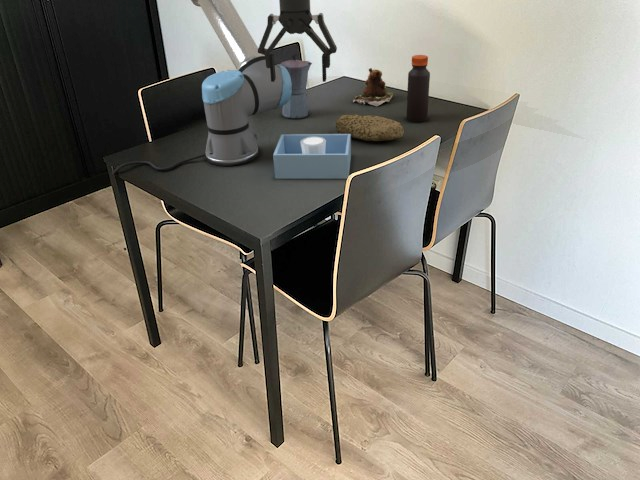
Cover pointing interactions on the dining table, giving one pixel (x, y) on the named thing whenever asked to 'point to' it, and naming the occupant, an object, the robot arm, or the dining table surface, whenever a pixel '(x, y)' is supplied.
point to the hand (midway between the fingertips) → (298, 80)
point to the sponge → (369, 127)
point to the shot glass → (313, 145)
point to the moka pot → (297, 88)
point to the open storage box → (312, 158)
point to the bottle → (418, 89)
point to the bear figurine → (374, 90)
